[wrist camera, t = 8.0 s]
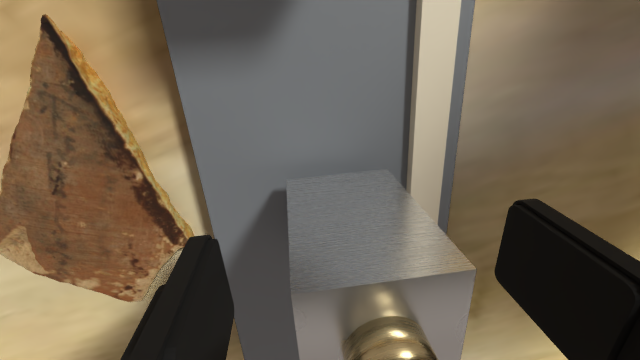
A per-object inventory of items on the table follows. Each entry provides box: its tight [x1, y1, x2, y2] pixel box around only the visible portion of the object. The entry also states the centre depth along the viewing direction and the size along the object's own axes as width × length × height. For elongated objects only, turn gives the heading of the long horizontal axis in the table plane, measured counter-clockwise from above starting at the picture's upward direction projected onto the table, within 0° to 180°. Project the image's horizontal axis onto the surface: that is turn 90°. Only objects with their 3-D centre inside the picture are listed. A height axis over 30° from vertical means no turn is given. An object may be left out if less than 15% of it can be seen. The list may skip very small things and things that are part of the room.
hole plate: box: [157, 0, 475, 360], centre depth 12 cm, size 28×11×2 cm, turn 4°
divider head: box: [286, 169, 477, 360], centre depth 10 cm, size 4×4×8 cm
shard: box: [0, 14, 194, 302], centre depth 13 cm, size 11×8×2 cm
